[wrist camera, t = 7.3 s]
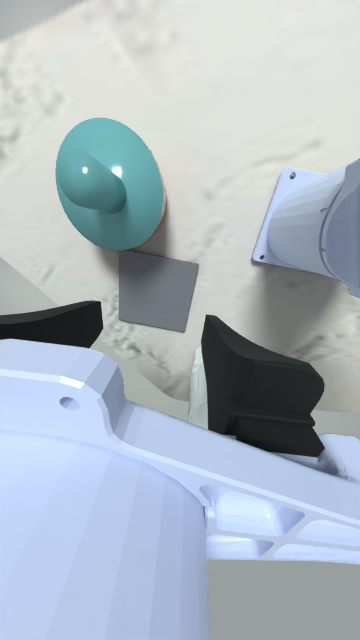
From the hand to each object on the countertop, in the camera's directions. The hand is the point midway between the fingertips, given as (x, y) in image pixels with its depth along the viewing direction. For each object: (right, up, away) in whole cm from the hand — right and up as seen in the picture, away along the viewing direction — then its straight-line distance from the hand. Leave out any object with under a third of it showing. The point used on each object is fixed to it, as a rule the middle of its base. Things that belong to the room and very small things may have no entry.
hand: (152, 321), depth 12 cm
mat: (-1, +3, +10) cm, 11 cm away
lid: (-4, +11, +3) cm, 12 cm away
